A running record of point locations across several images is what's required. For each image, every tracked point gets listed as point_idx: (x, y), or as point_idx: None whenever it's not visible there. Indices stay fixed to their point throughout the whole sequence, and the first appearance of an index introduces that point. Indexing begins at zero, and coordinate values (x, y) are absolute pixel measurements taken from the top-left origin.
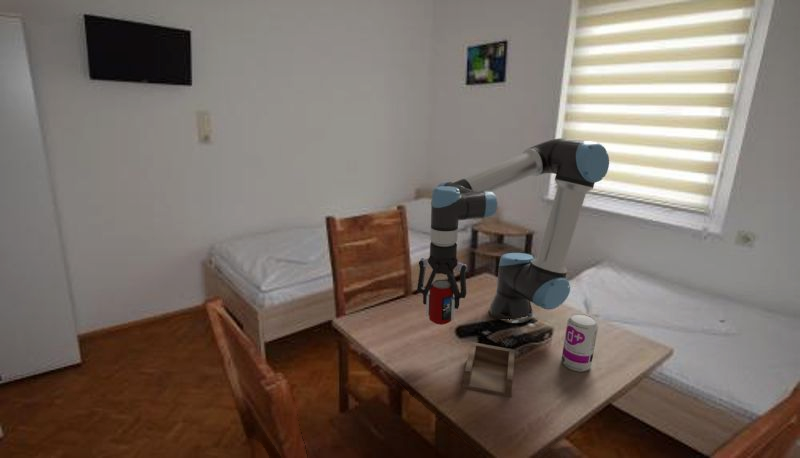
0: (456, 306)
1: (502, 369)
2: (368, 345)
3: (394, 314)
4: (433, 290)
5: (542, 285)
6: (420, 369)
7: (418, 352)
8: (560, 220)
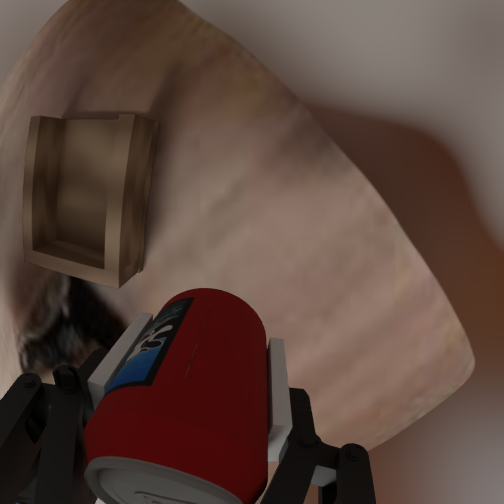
0: (101, 358)
1: (64, 215)
2: (431, 288)
3: (353, 427)
4: (233, 454)
5: None
6: (285, 185)
7: (294, 275)
8: None
